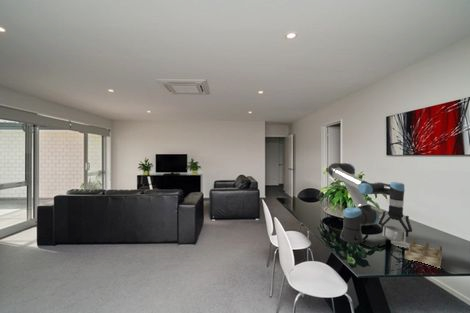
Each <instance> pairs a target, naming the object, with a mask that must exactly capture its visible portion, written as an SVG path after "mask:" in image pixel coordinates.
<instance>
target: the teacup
mask: <svg viewBox="0 0 470 313" xmlns="http://www.w3.org/2000/svg"><path fill="white" fill-rule="evenodd" d="M384 226H385V235H384V236H385V237H386V238H387V239H388V240H390V241H391V240H392V241H397V242H399V241H404V231H405V229H404V228H401V227H399V226H393V225H384Z"/></svg>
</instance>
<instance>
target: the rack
mask: <svg viewBox="0 0 470 313" xmlns="http://www.w3.org/2000/svg"><path fill="white" fill-rule="evenodd" d="M416 241H417V240H416V239H415V238H413V241H412V242H408V243H409V248H408V249H407V250H404V260H409V261H411V260H413V261H412V262H414V261H418V262H422V263H425V264H428V265H431V266H434V267H433V268H435V267H437V268H436V269H438V268H440V269H441V267H440V266H442V261H441V260H442V259H443V246H442V245H439V249H436V248H432V247H429V242H426V245H421V244H418V243H417V244H416ZM418 262H417V263H418ZM428 265H427V266H428ZM431 266H430V267H431Z"/></svg>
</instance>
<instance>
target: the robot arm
mask: <svg viewBox="0 0 470 313" xmlns="http://www.w3.org/2000/svg"><path fill="white" fill-rule="evenodd" d="M327 172H328V175H329V176H330V177H332V178H335V179H338V180H340V181H342V182H343V183H344V185H345V188H346V190H347V192H348V194H349V196H350V197H351V200H352V202H353V205H354V206H355V207H352V206H351V207H346V208H344V210H343V224H342V226H343V227H342V230H341V232H340V240H342V241H343V242H346V243H350V244H357V245H358V244H362V243H363V242H364V236H363V233H362V226H372V225H376V224H377V223H378V225H380V227H381V228H380V230H381V231H382V236H383V237H385V236H386V235H385V226H386V224H387V223H388V222H389V221H390V220H395V221H398V222H399V223H400V224H401V226H402V229H403V230H405V231H404V239H403V241H404V242H407V237H409V234H410V233H413V228H412V225H411V222H410V220H409V217H410V216H409V215H405V214H404V198H405V184H404V183H403V182H398V181H397V182H395V181H392V182H390V184H389V183H384V182H380V181H379V182H378V181H375V182H368V181H365V180H364V179H361V178H359V176H356V175H355V174H356V168H355V166H354V165H353V164H351V163H347V162H343V163H342V162H341V163H340V162H339V163H338V162H337V163H336V162H334V163H331V164H330V165H329V166H328V168H327ZM364 195H367V196H368V195H385V196H386V195H387V196H389V199H388V200H389V202H388V204H389V205H388V211H385V210H383V211H382V216H381V217H380V215H379V212H378V211H377V210H376V209H375V208H373V207H372V206H371V205H370V204H368V202H367V201H366V198H365V196H364ZM385 216H389V217H387V219H385V220H384V218H385ZM403 219H405V222H406V224H405V222H404V220H403ZM382 222H383V223H382Z"/></svg>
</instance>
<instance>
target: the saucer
mask: <svg viewBox="0 0 470 313" xmlns="http://www.w3.org/2000/svg"><path fill="white" fill-rule="evenodd" d="M390 243H391V245H393V246H396V247H398V246H399V248H402V247H404V249H409V243H410V242H407V241H405V242H404V240H402V241H399V242H397V241H392V240H390Z"/></svg>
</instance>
